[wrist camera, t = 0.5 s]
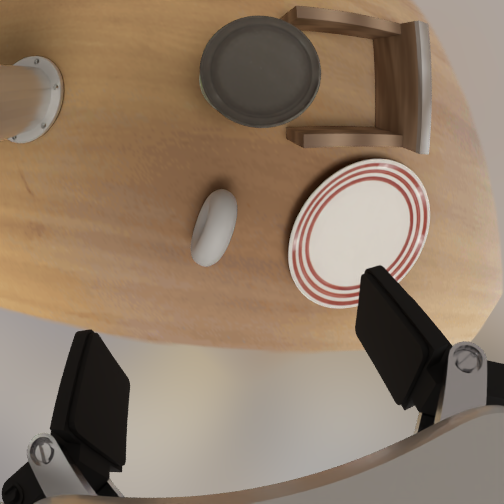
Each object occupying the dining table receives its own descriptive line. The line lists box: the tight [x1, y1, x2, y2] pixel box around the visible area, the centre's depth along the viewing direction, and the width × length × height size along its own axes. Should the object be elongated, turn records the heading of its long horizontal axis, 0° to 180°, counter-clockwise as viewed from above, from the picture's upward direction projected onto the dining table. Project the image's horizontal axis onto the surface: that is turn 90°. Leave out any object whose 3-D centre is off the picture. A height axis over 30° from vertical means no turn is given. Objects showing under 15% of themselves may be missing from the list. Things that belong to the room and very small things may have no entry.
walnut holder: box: [280, 6, 432, 154], centre depth 30 cm, size 16×17×11 cm
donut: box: [191, 189, 237, 267], centre depth 37 cm, size 10×4×10 cm, turn 155°
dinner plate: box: [288, 159, 430, 308], centre depth 47 cm, size 27×27×3 cm
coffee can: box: [199, 16, 321, 128], centre depth 27 cm, size 10×10×14 cm
